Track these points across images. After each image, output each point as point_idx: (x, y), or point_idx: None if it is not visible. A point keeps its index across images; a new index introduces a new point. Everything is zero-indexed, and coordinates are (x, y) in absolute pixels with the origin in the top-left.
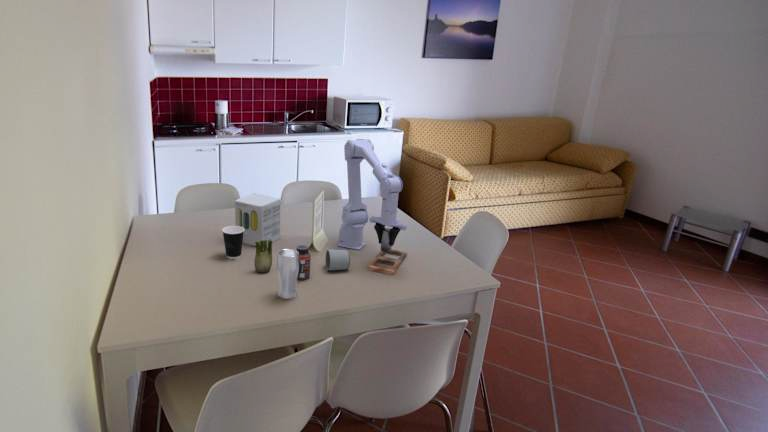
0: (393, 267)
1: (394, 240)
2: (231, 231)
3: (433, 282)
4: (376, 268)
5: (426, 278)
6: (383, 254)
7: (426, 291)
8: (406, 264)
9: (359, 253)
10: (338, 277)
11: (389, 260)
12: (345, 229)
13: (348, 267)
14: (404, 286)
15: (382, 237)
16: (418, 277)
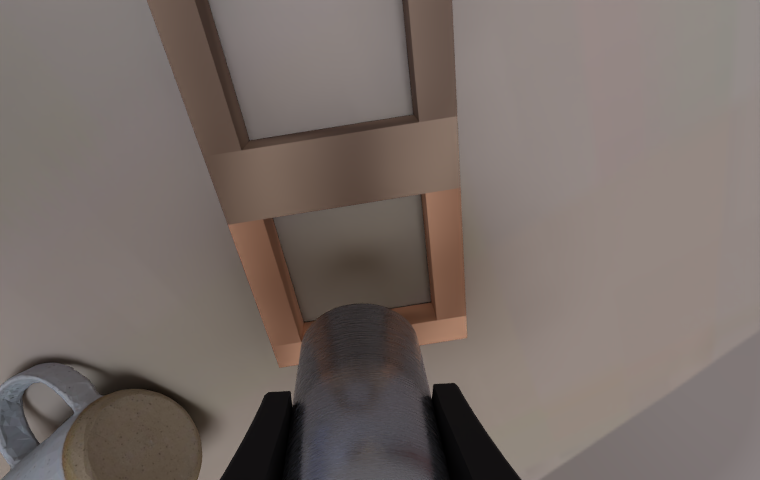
0: (447, 288)
1: (481, 443)
2: None
3: (730, 261)
4: None
5: (683, 236)
6: (213, 35)
7: (683, 368)
8: (497, 94)
9: (5, 132)
10: (219, 477)
11: (363, 192)
12: None
13: (199, 439)
14: (561, 385)
15: None
16: (627, 253)
